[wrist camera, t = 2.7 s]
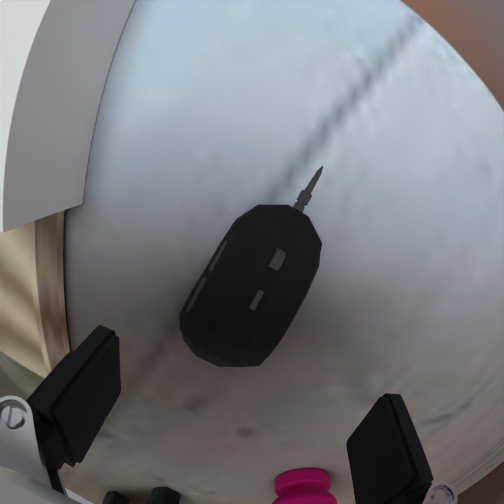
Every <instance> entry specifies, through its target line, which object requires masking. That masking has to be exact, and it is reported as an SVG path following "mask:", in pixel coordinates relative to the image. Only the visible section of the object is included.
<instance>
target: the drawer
mask: <svg viewBox="0 0 504 504" xmlns="http://www.w3.org/2000/svg"><path fill="white" fill-rule="evenodd" d="M63 229H64V210H63V211H60V212H57V213H54V214H52V215H49V216H46V217H43V218H40V219H38V220H35V221H32V222H30V223H27V224H25V225H22V226H19V227H17V228H14V229H12V230H9V231H7V232H5V233H2V232H0V398H2V397H4V396H10V395H11V396H17V397H19V398H22V399H23V400H24V401H26V400H27V399H28V398H29V397H30V395H31V394H32V393H33V392H34V391H35V389H36V388H37V387H38V386H39V385H40V384H41V382H42V381H43V380H44V379H45V378H46V377H47V376H48V374H49V373H50V372H51V371H52V370H53V369H54V368H55V366H56V365H57V364H58V363H59V362H60V361H61V360H62V359H63V358H64V356H65V355H66V354H68V353H69V352H70V348H69V341H68V333H67V324H66V313H65V301H64V282H63Z"/></svg>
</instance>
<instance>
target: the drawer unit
mask: <svg viewBox="0 0 504 504" xmlns="http://www.w3.org/2000/svg"><path fill="white" fill-rule="evenodd" d="M135 1H136V0H0V232H2V233H5V232H7V231H9V230H12V229H14V228H17V227H19V226H22V225H25V224H27V223H30V222H32V221H35V220H38V219H40V218H43V217H46V216H49V215H52V214H54V213H57V212H60V211H63V210H66V209H69V208H72V207H75V206H78V205H81V204H83V196H84V187H85V179H86V172H87V165H88V159H89V153H90V147H91V142H92V136H93V131H94V127H95V122H96V118H97V113H98V109H99V105H100V101H101V97H102V93H103V90H104V86H105V82H106V79H107V76H108V72H109V69H110V66H111V63H112V60H113V57H114V54H115V51H116V48H117V45H118V42H119V39H120V37H121V34H122V31H123V29H124V26H125V24H126V21H127V19H128V17H129V14H130V12H131V9H132V7H133V5H134V3H135Z"/></svg>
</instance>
